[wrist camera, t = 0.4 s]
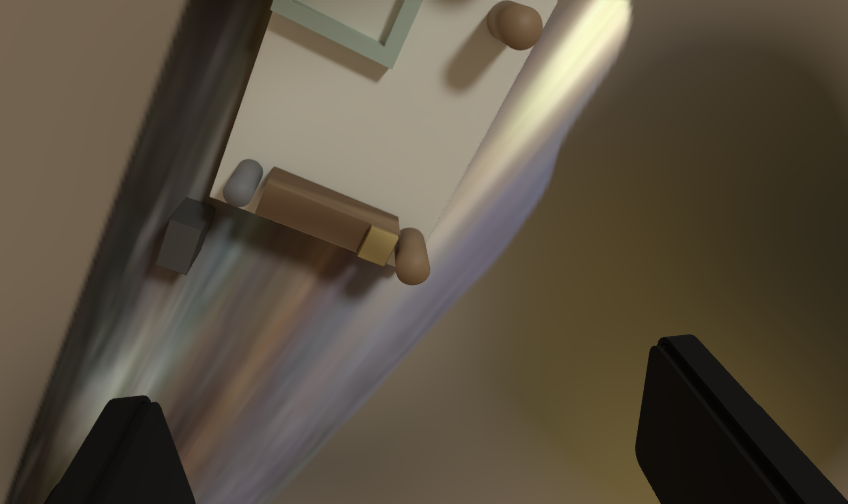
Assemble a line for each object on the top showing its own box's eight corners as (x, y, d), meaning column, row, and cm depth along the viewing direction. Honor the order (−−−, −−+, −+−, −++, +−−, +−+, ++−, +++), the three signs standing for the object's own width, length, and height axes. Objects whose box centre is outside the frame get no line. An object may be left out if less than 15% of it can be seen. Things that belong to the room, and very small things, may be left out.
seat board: (297, -146, 33) (280, -170, 27) (546, -2, 38) (581, 6, 32) (172, 240, 44) (140, 286, 37) (379, 312, 49) (380, 364, 42)
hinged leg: (274, 166, 39) (265, 185, 35) (398, 216, 41) (400, 239, 38) (262, 195, 40) (253, 217, 36) (385, 242, 42) (386, 267, 39)
